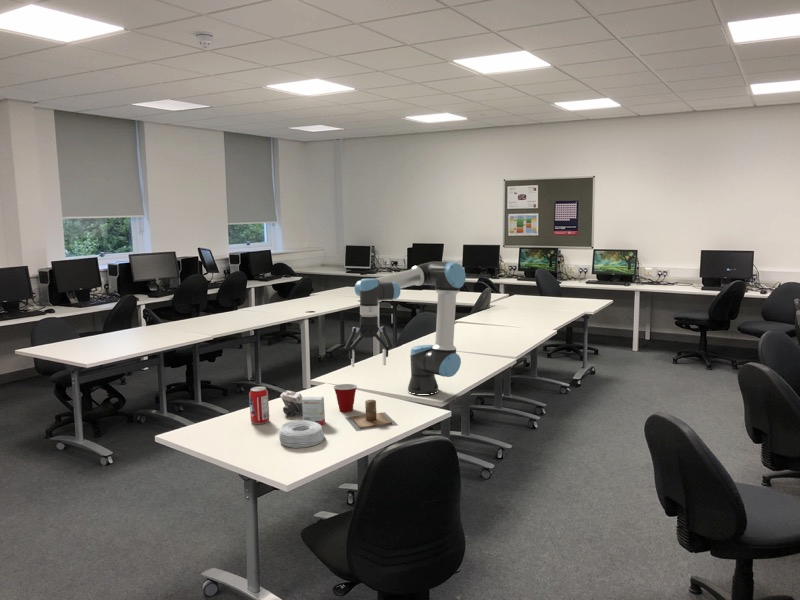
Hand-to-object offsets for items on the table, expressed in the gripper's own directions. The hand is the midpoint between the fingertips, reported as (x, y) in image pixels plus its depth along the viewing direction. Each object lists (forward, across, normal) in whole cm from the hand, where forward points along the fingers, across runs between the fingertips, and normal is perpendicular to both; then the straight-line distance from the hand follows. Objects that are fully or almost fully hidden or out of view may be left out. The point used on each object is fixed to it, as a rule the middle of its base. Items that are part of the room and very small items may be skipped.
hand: (368, 365), depth 253 cm
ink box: (+26, -22, +4) cm, 34 cm away
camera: (+26, -30, +22) cm, 45 cm away
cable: (+27, -29, -12) cm, 41 cm away
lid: (+24, +1, -1) cm, 24 cm away
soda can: (+26, -44, +16) cm, 54 cm away
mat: (+24, +1, -1) cm, 24 cm away
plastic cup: (+24, -6, +17) cm, 31 cm away
